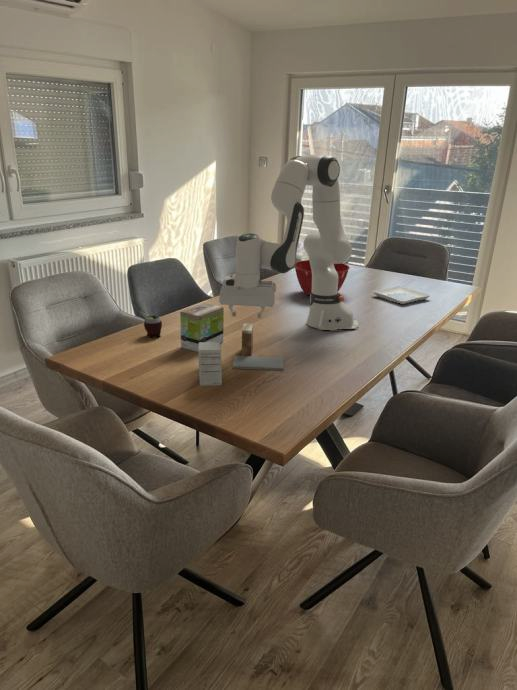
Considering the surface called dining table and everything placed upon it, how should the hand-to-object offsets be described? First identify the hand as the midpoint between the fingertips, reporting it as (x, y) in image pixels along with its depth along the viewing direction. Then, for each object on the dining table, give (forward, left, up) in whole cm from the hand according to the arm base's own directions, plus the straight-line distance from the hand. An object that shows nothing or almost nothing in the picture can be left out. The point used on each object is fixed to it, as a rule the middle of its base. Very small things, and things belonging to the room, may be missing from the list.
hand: (246, 316), depth 195 cm
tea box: (+18, -6, -14) cm, 24 cm away
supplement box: (+10, +27, -14) cm, 32 cm away
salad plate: (-72, -81, -15) cm, 110 cm away
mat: (-5, +11, -14) cm, 18 cm away
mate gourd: (+39, -14, -14) cm, 44 cm away
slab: (0, 0, -14) cm, 14 cm away
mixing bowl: (-31, -84, -14) cm, 91 cm away
